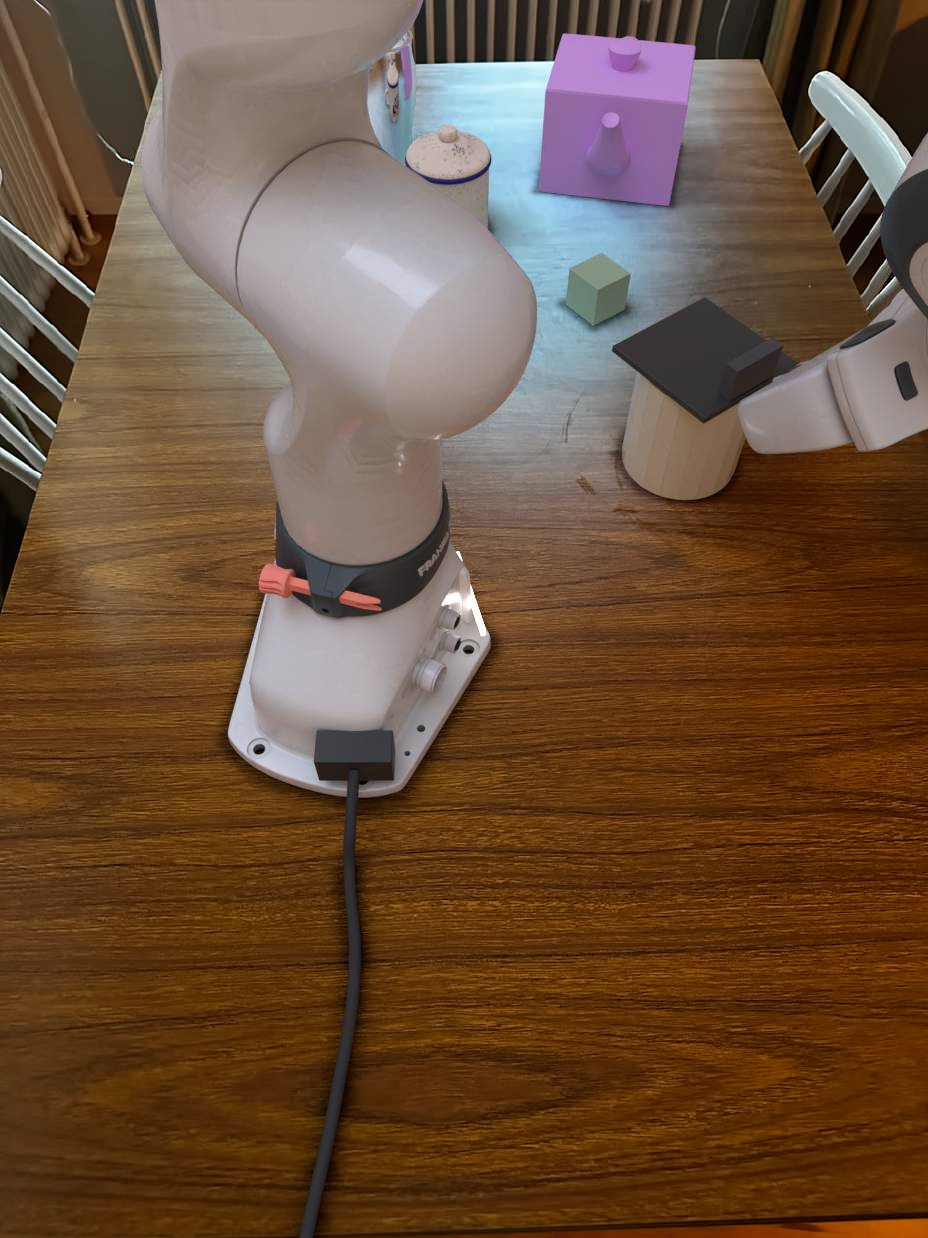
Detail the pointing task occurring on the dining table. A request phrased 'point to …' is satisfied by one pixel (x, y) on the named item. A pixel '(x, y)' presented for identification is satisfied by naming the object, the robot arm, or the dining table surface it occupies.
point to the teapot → (615, 118)
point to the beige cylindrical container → (678, 446)
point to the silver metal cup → (394, 97)
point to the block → (597, 289)
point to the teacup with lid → (454, 166)
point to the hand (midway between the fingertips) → (787, 382)
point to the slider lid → (704, 359)
